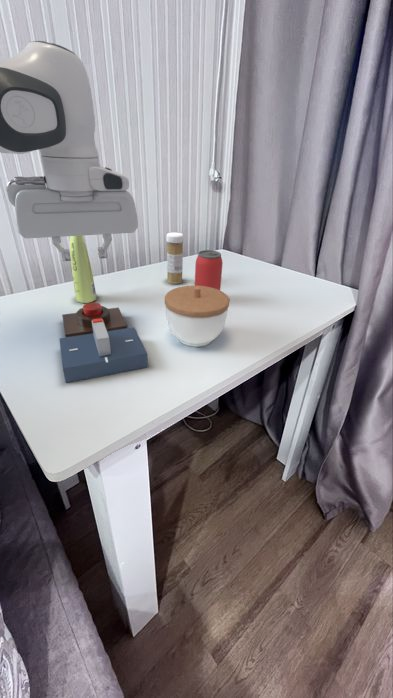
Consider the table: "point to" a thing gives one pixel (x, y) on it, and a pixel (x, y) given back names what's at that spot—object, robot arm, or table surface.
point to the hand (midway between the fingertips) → (85, 259)
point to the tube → (81, 271)
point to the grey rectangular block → (101, 337)
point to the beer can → (208, 269)
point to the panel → (87, 363)
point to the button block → (83, 325)
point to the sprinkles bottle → (174, 257)
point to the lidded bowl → (196, 314)
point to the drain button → (92, 309)
